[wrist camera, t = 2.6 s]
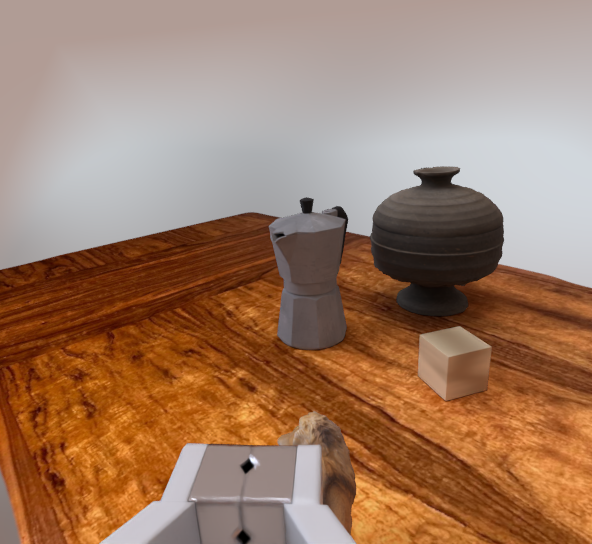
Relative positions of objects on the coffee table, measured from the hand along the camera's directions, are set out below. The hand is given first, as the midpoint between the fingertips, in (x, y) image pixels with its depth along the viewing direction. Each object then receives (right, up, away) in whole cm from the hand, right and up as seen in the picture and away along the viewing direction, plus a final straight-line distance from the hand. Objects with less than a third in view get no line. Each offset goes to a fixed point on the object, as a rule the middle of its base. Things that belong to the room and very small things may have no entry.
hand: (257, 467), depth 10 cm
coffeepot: (+4, -4, +51) cm, 52 cm away
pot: (+21, 0, +58) cm, 62 cm away
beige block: (+17, -7, +38) cm, 43 cm away
